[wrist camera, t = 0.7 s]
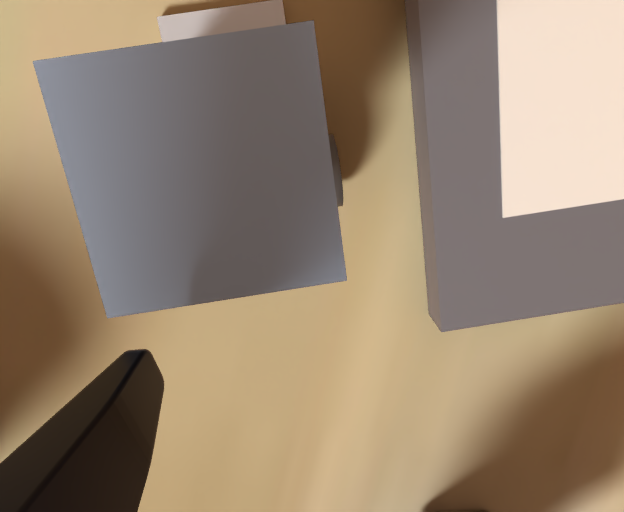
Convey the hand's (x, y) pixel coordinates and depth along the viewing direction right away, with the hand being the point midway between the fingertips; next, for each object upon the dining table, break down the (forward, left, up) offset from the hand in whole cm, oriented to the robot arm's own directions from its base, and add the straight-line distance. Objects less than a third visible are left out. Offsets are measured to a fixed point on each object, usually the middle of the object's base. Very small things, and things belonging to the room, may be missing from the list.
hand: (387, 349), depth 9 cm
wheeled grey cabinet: (+3, +3, -15) cm, 15 cm away
